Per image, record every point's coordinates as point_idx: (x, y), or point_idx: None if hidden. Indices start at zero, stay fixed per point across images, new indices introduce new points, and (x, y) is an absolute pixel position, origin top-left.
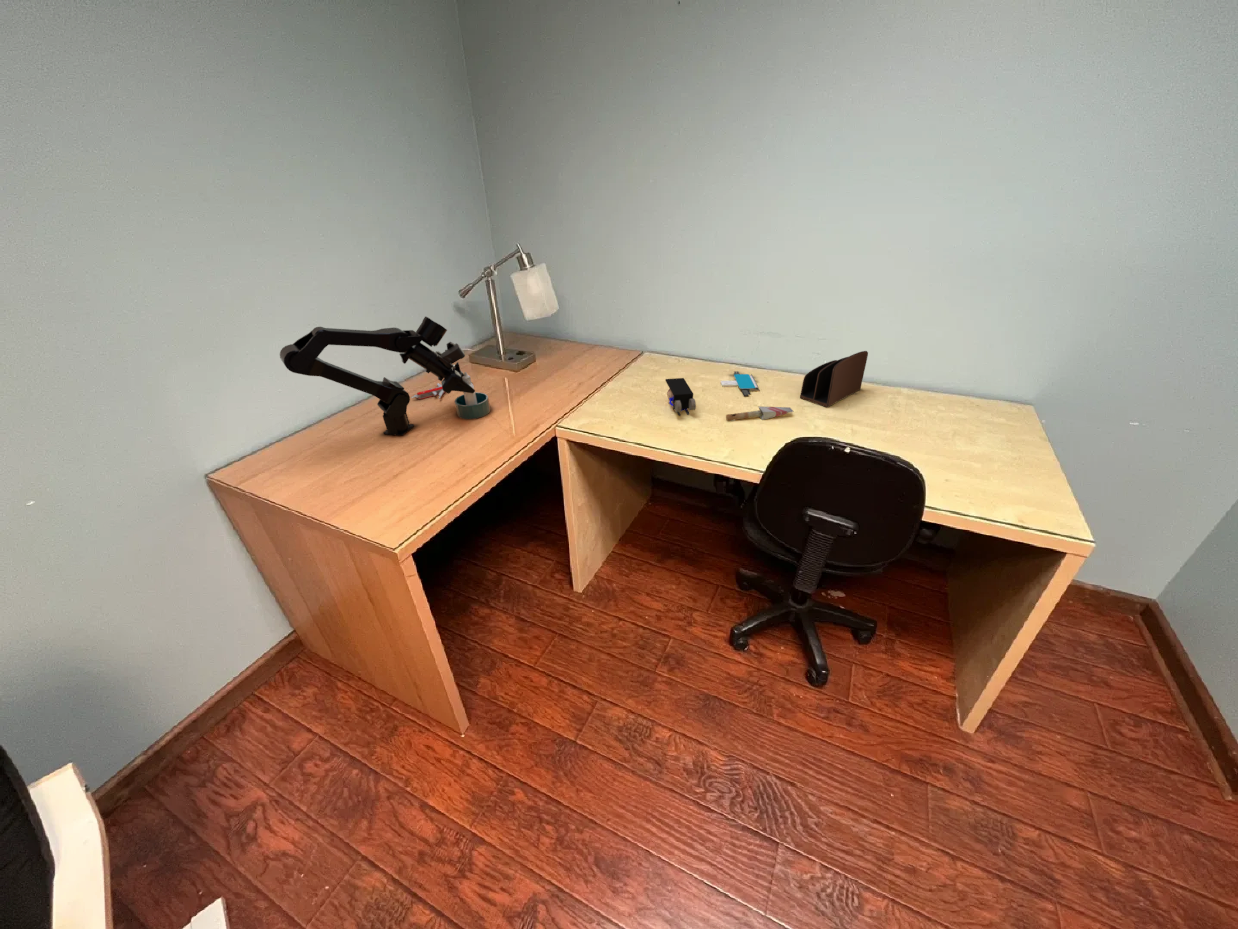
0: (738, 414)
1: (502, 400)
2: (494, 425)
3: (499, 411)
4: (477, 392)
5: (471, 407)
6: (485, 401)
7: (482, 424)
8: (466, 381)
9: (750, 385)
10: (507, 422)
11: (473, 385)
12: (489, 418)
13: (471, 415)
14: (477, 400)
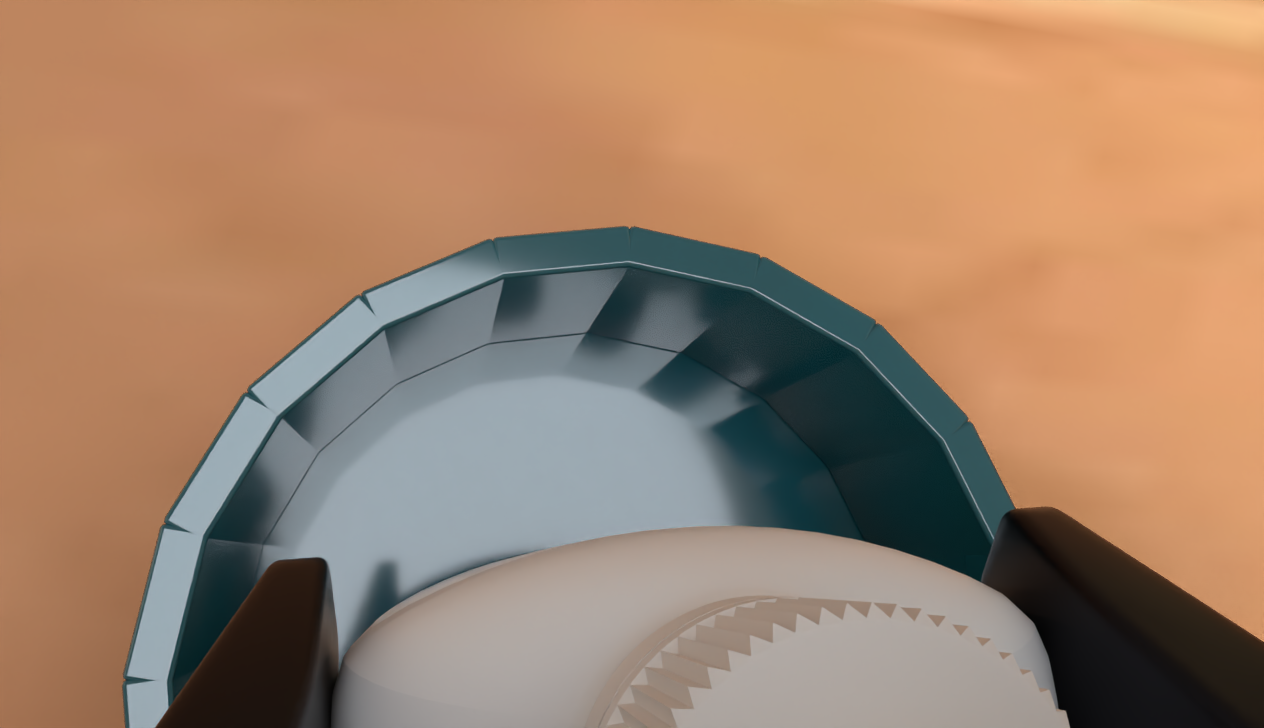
0: None
1: (209, 25)
2: (1247, 309)
3: (724, 156)
4: (204, 486)
5: None
6: (870, 322)
7: (1162, 510)
8: None
9: None
10: (1193, 91)
11: (757, 535)
12: (962, 367)
13: None
14: (248, 539)
